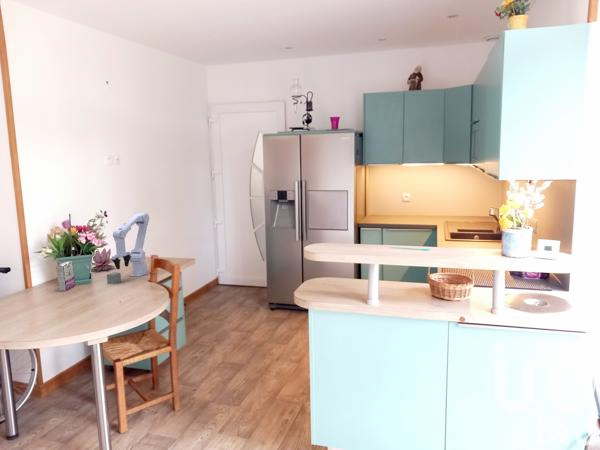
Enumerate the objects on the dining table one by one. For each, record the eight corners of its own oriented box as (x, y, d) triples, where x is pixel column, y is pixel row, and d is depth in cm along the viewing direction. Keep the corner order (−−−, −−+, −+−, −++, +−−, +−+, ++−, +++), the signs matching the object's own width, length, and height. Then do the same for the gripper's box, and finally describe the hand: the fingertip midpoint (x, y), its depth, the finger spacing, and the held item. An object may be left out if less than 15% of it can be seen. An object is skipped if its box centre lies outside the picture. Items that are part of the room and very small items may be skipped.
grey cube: (114, 280, 298) (113, 272, 298) (121, 281, 296) (120, 272, 295) (107, 283, 293) (106, 274, 292) (114, 284, 291) (113, 275, 290)
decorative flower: (123, 266, 338) (122, 247, 335) (104, 274, 317) (102, 253, 315) (100, 265, 343) (98, 246, 341) (79, 272, 323) (77, 252, 321)
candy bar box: (67, 286, 289) (65, 261, 286) (75, 285, 289) (73, 261, 286) (58, 291, 278) (55, 265, 275) (66, 291, 278) (63, 265, 275)
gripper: (117, 250, 285) (119, 270, 287) (133, 245, 298) (135, 265, 300) (108, 249, 288) (110, 270, 290) (125, 245, 301) (126, 264, 303)
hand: (122, 267), depth 295 cm, fingers open, 7 cm apart
